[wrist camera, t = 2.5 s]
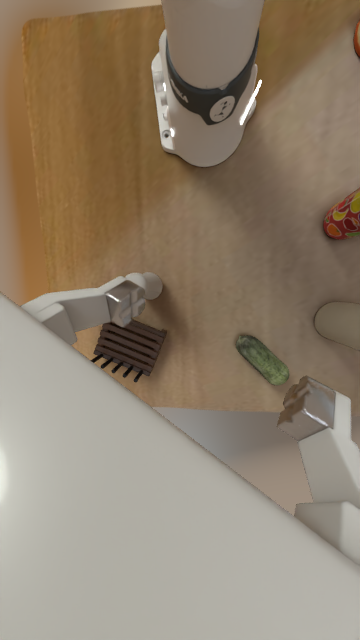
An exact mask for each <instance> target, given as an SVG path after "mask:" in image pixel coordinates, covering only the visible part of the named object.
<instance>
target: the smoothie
mask: <svg viewBox="0 0 360 640" xmlns="http://www.w3.org/2000/svg"><path fill="white" fill-rule="evenodd" d="M323 226H324V231H325V232H326V234H327V235H329V236H330V237H332V238H335V239H347V238H351V237H355V236H359V235H360V188H359V189H357V190H356V191H354V192H353V193H352V194H350V195H349V196H347V197H346V198H345V199H343V200H342V201H340V202H339V203H338V204H336V205H335V206H333V207H332V208H331V209H330V210H329V211H328V213H327V215H326V217H325V220H324V224H323Z"/></svg>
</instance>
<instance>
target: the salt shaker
mask: <svg viewBox="0 0 360 640" xmlns="http://www.w3.org/2000/svg"><path fill="white" fill-rule="evenodd" d="M125 278H126V279H128V280H130V281H132V282H133V283H135V284H137V285H139V286H140V287H142V288H144V289H145V295H144V296H143V298H145V299H150V300H152V299H154V298H157V297H158V296H159V295H160V293H161V291H162V287H163V286H162V281H161V279H160V278H159V277H158V275H156V274H154V273H147V272H146V273H144V274H140V273H131V274H129V275H127V276H126V277H125Z"/></svg>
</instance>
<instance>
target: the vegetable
mask: <svg viewBox="0 0 360 640" xmlns="http://www.w3.org/2000/svg"><path fill="white" fill-rule="evenodd" d="M236 348H237V350H238V352H239V353H240V354H241V355H242V356H243V357H244V358H245V359H246V360H247V361H248V362H249V363H250V364H251V365H252V366H253V367H254V368H255V369H256V370H257V371H259V372H260V373H261V374H262V376H263V377H264V378H265V379H266V380H267V381H268V382H269V383H271V384H273V385H281V384H284V383H285V382H286V381H287V380H288V378H289V369H288V367H287V366H286V365H285V364H284V363H282V362H281V361H280V360H279V359H278V358H277V357H276V356H275V355H274V354H273V353H272V352H271V351H270V350H269V349H268V348H267V347H266V346H265V345H264V344H263V343H262V342H260V341H259V340H258V339H256V338H255V337H253V336H239V339H238V340H237V342H236Z"/></svg>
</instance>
